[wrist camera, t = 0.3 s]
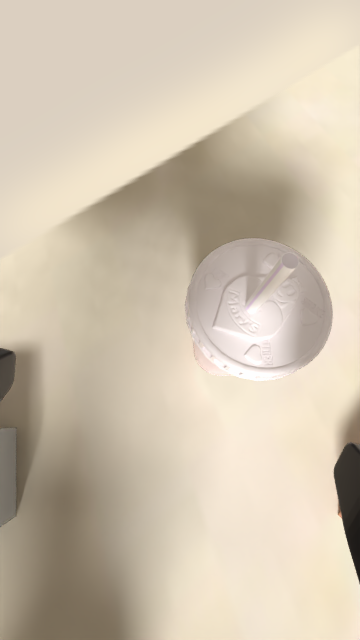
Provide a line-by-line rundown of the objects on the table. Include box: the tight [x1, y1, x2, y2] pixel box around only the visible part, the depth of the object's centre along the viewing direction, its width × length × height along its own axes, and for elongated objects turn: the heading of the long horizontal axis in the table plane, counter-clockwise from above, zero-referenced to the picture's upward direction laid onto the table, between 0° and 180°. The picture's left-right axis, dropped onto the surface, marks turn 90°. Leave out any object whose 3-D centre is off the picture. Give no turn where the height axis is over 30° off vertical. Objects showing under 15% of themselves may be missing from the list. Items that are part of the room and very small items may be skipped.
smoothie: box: [185, 238, 333, 381], centre depth 17 cm, size 6×6×14 cm
